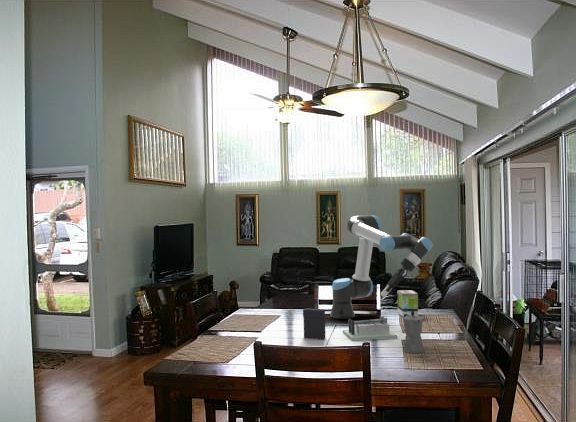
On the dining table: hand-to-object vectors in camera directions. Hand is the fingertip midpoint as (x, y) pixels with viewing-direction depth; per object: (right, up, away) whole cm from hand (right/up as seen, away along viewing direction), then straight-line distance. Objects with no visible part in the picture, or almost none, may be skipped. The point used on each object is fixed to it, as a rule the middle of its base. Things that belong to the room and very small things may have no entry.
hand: (382, 295), depth 260 cm
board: (-7, -20, -3) cm, 22 cm away
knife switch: (-8, -19, -3) cm, 21 cm away
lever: (-8, -14, -3) cm, 16 cm away
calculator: (-36, -21, -7) cm, 42 cm away
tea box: (+26, -21, +49) cm, 59 cm away
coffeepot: (+8, -20, -33) cm, 39 cm away
